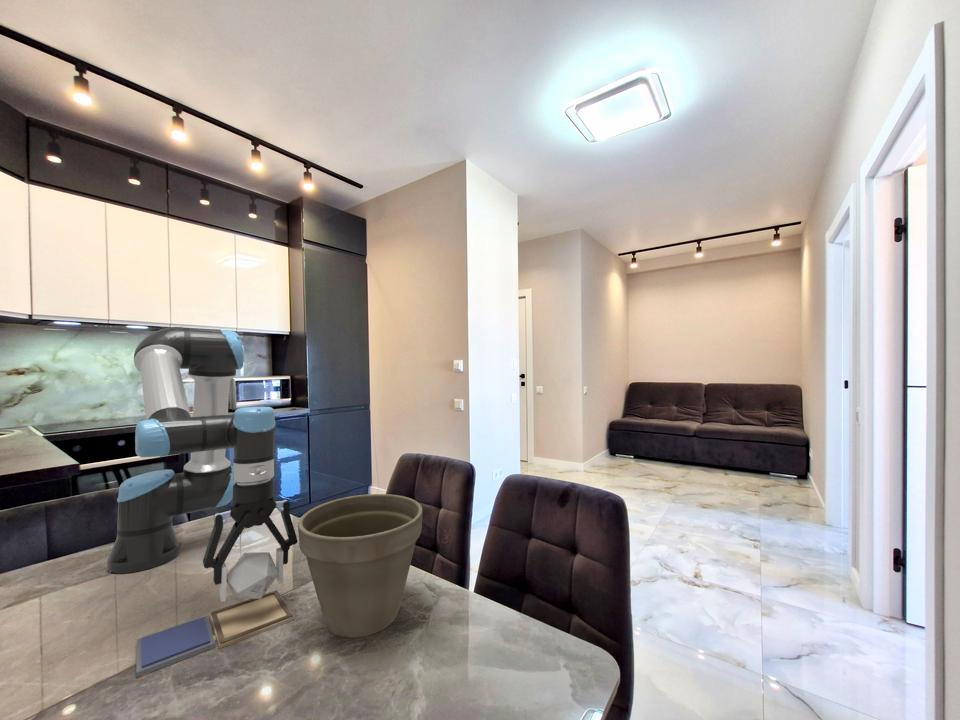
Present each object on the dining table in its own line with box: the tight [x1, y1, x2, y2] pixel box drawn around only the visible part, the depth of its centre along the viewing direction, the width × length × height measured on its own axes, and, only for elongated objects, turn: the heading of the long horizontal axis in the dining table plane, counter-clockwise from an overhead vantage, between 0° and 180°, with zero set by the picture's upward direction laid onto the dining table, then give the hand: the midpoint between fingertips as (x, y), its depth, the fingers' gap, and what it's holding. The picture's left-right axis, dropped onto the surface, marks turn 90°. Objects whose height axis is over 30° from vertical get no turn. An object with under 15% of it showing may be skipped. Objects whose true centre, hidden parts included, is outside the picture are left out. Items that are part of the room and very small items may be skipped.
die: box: [226, 551, 279, 600], centre depth 81 cm, size 8×9×10 cm
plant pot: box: [297, 493, 423, 639], centre depth 82 cm, size 25×25×22 cm
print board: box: [209, 590, 295, 650], centre depth 81 cm, size 13×13×1 cm
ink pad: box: [135, 615, 216, 678], centre depth 73 cm, size 11×11×1 cm
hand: (252, 589), depth 81 cm, fingers closed on die, 10 cm apart
